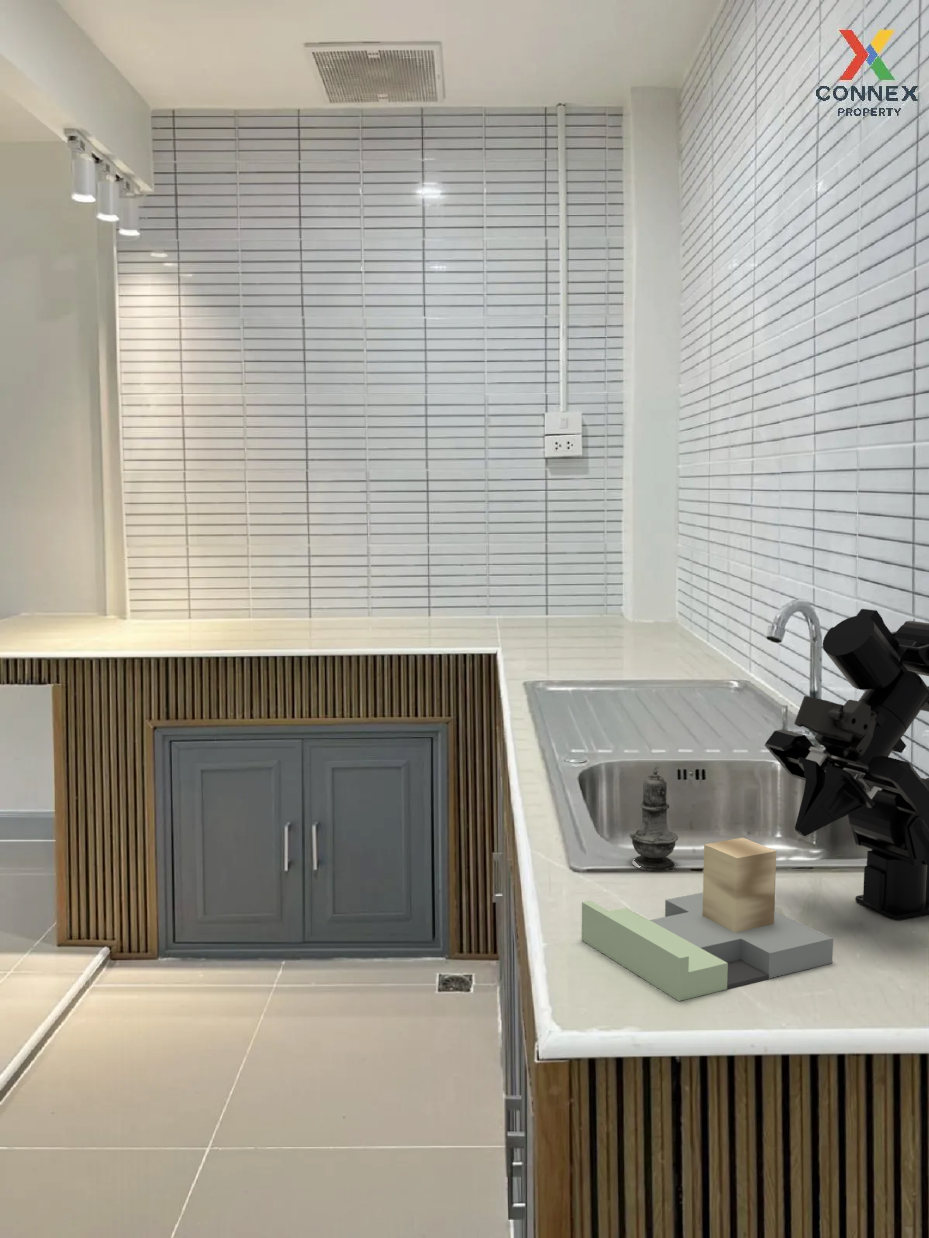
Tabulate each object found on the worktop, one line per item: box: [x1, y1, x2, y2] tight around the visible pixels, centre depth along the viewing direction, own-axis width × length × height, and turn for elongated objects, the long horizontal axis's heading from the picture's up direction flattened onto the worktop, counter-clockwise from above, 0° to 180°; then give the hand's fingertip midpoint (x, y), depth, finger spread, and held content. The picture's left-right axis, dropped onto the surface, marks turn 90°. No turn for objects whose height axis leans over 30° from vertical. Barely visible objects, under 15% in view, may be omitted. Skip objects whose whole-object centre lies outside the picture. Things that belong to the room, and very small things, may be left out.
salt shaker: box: [629, 768, 679, 872], centre depth 142 cm, size 6×6×12 cm
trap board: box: [581, 891, 834, 1002], centre depth 116 cm, size 18×16×4 cm
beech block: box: [702, 837, 777, 932], centre depth 117 cm, size 5×5×8 cm
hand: (799, 832), depth 120 cm, fingers closed
